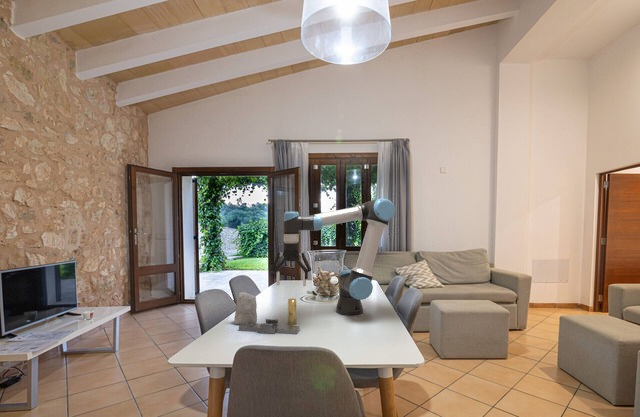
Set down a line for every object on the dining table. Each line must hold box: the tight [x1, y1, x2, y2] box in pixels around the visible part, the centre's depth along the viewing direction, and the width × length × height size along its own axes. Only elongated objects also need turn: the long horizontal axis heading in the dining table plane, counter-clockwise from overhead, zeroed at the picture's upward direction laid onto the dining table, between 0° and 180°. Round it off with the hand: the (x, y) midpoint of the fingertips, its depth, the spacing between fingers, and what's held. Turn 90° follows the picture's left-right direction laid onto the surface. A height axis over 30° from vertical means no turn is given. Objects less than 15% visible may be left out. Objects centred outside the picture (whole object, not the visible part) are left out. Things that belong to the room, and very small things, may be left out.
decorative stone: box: [233, 291, 258, 325], centre depth 159 cm, size 11×6×15 cm, turn 87°
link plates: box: [238, 318, 301, 335], centre depth 149 cm, size 28×8×4 cm, turn 80°
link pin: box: [287, 298, 297, 326], centre depth 158 cm, size 4×4×12 cm
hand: (291, 285), depth 159 cm, fingers open, 13 cm apart
